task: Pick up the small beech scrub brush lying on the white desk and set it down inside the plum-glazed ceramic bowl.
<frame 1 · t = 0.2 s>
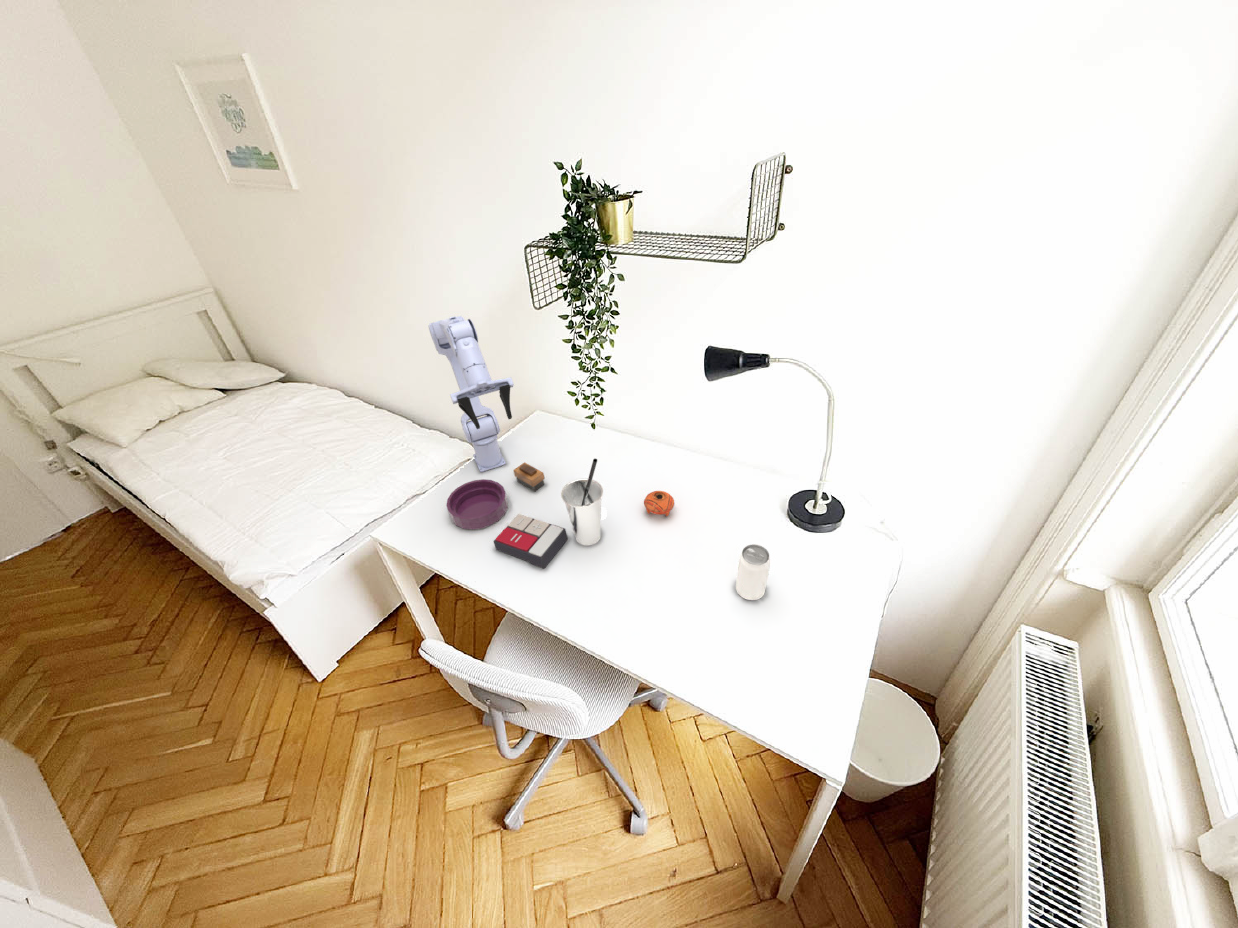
hand: (494, 422, 123), 31 cm above the table, tool tilted 45°, fingers open, 7 cm apart
scrub brush: (530, 483, 153), on the table
pot: (659, 512, 141), on the table
metal cup with straw: (590, 538, 135), on the table
calculator: (532, 544, 134), on the table
can: (750, 590, 119), on the table
bowl: (479, 510, 145), on the table
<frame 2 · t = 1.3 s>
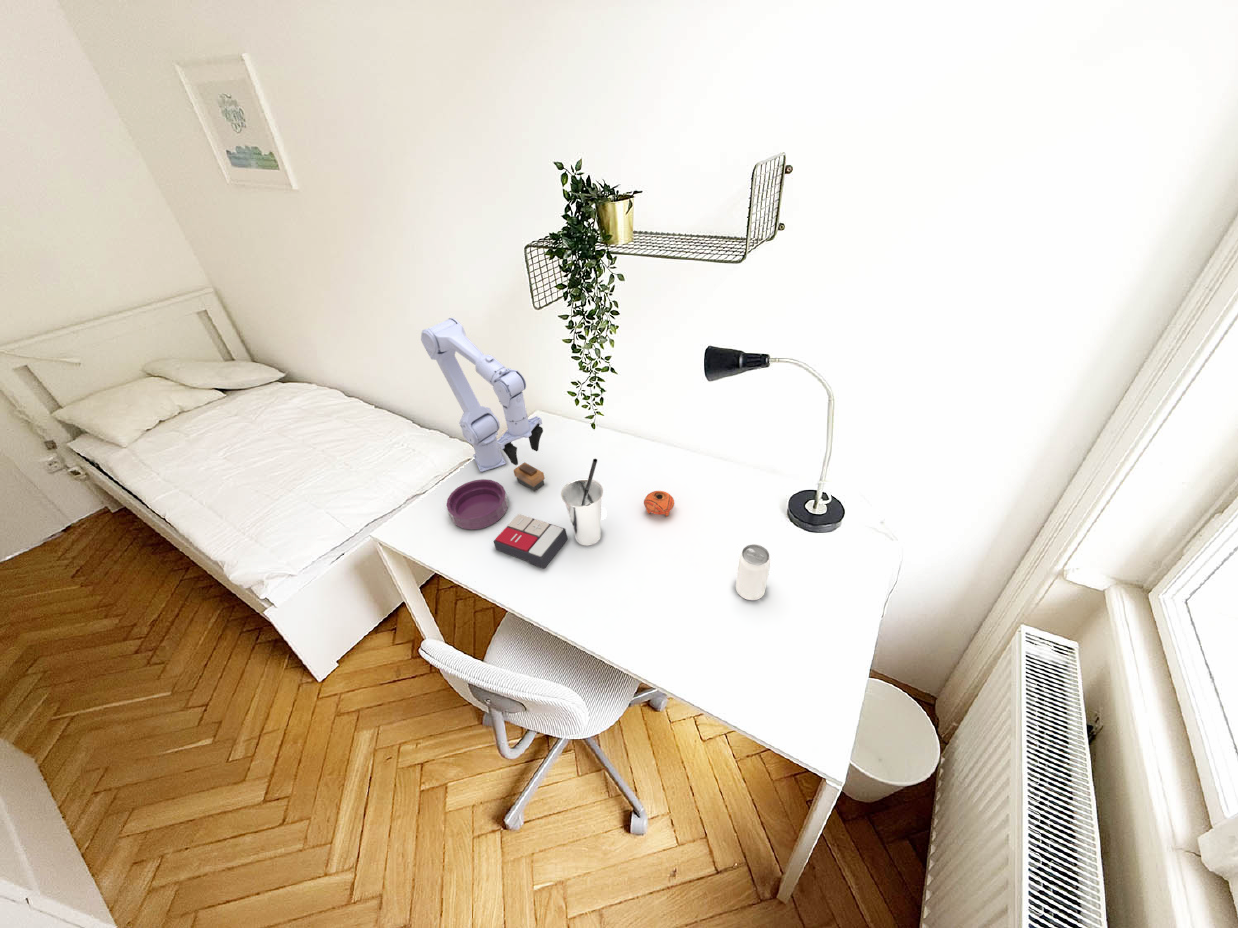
hand: (525, 456, 146), 10 cm above the table, tool pointing down, fingers open, 7 cm apart
nothing on the table moved.
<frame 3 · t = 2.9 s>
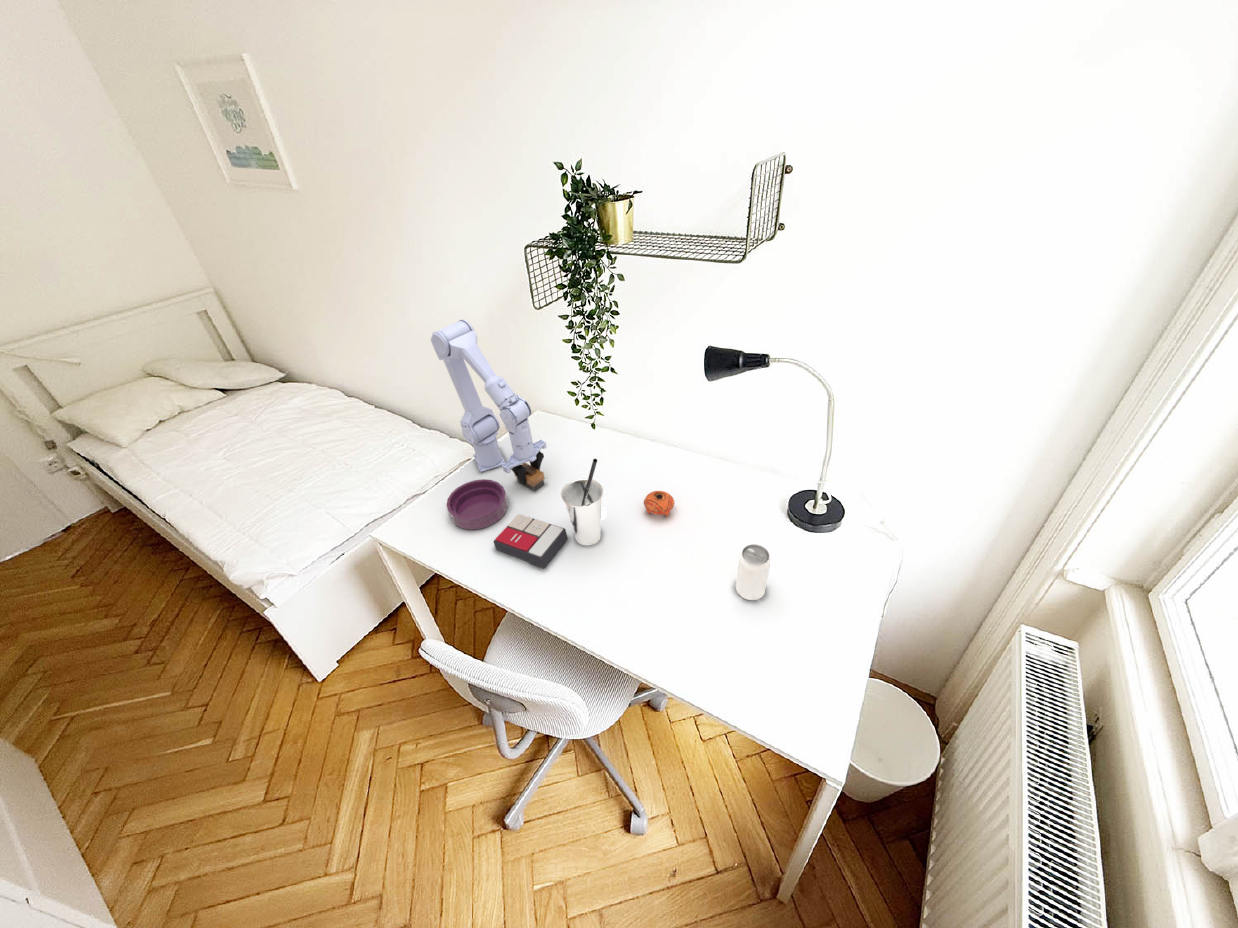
hand: (529, 478, 151), 2 cm above the table, tool pointing down, fingers closed on scrub brush, 4 cm apart
scrub brush: (530, 483, 153), on the table, touching gripper
everything else where it was.
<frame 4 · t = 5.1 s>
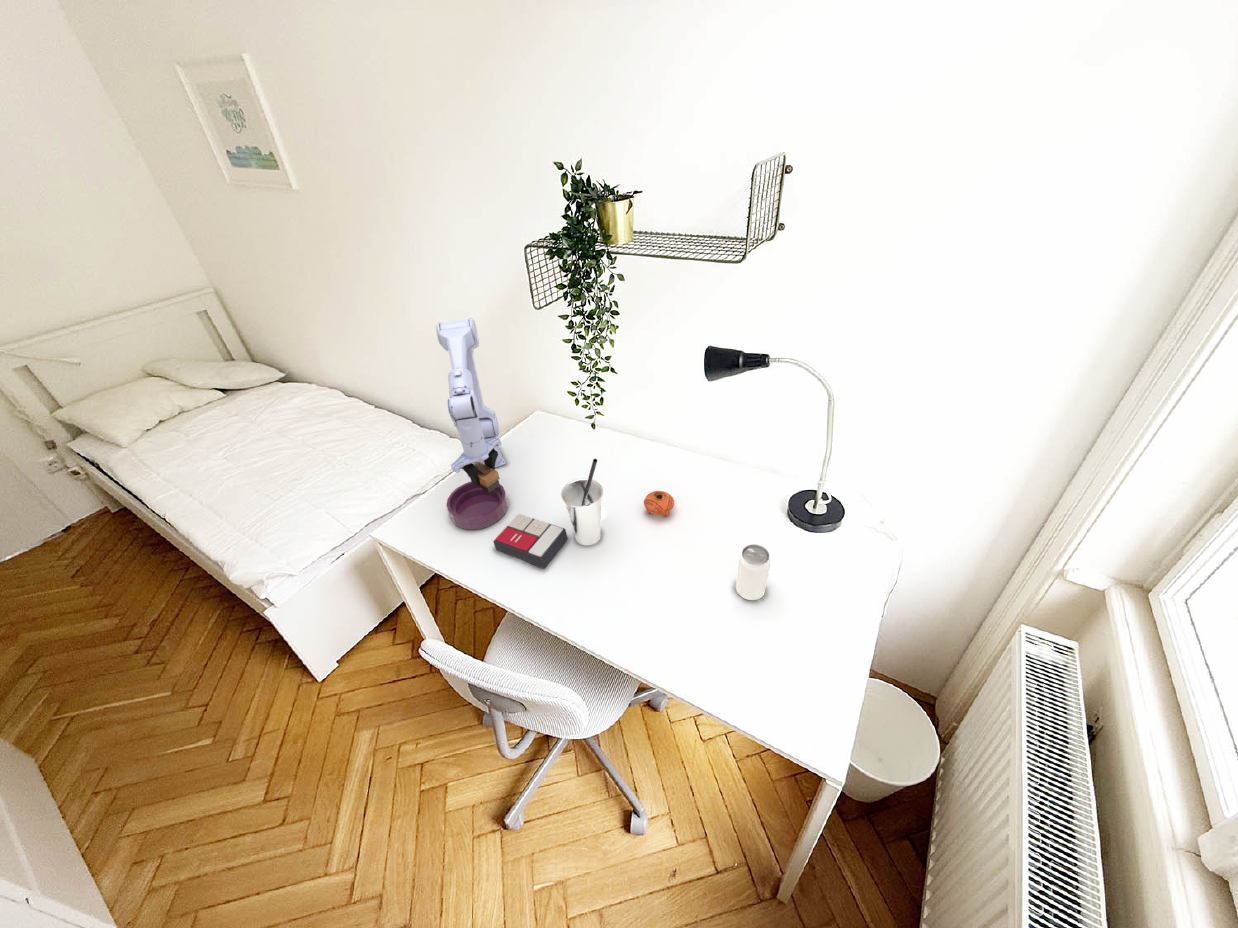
hand: (483, 478, 141), 9 cm above the table, tool pointing down, fingers closed on scrub brush, 4 cm apart
scrub brush: (485, 483, 142), point 8 cm above the table, touching gripper
everything else where it was.
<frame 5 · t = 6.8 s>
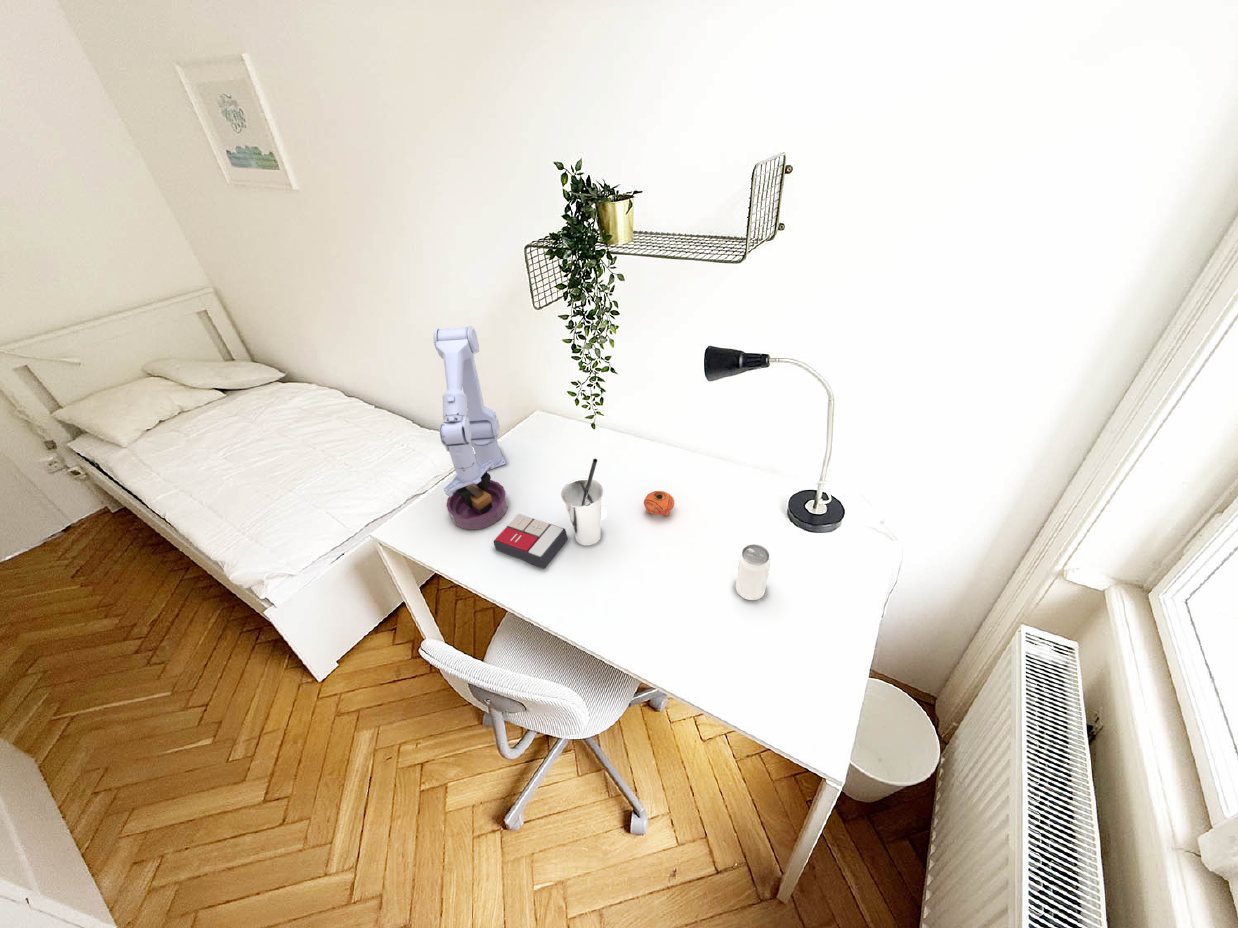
hand: (476, 500, 143), 4 cm above the table, tool pointing down, fingers closed on scrub brush, 4 cm apart
scrub brush: (478, 505, 144), point 2 cm above the table, touching gripper
everything else where it was.
when the fingers open (2 cm above the table, at t = 7.6 s): scrub brush stays where it is, resting on bowl.
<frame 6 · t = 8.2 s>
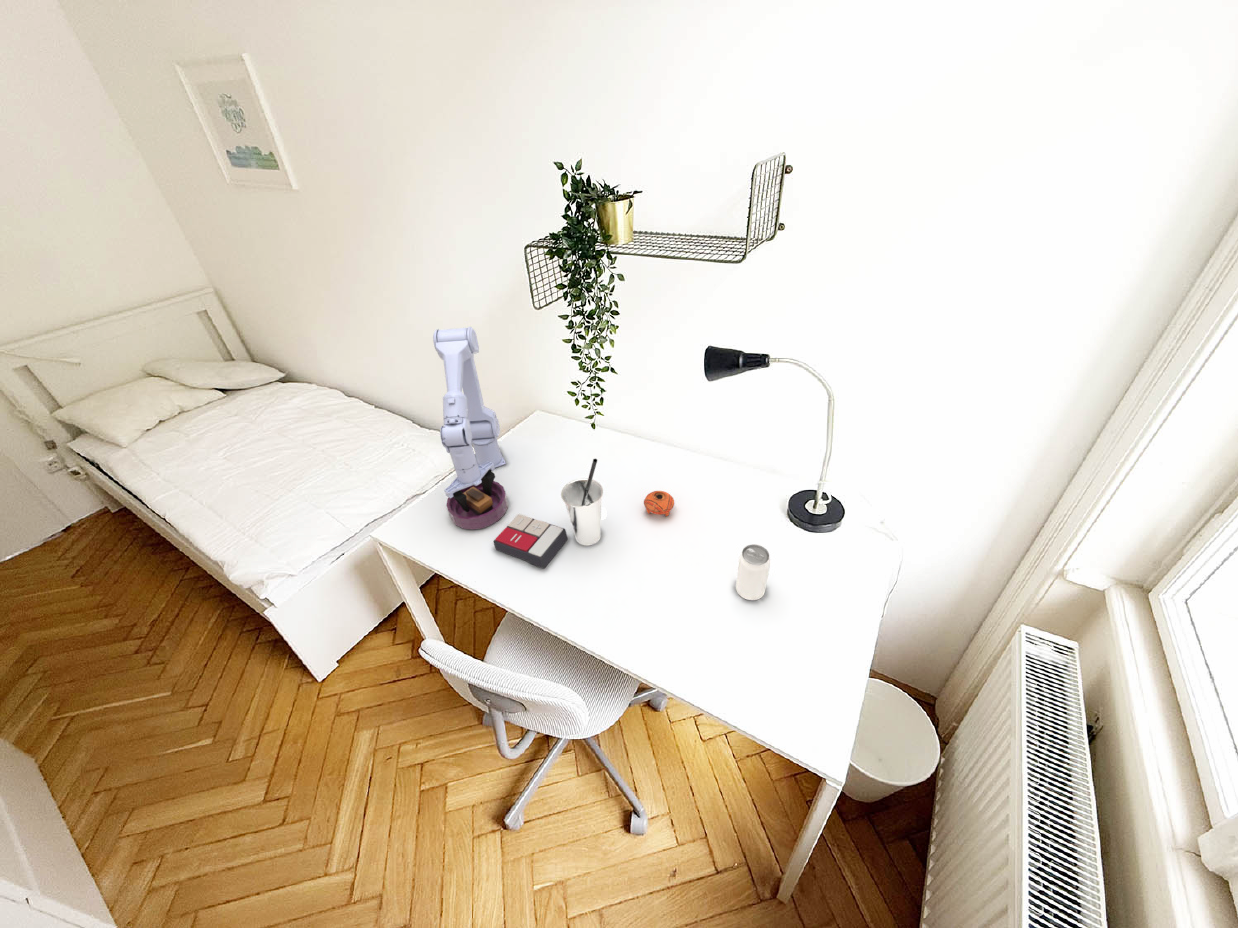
hand: (477, 502, 143), 3 cm above the table, tool pointing down, fingers open, 7 cm apart
scrub brush: (479, 508, 145), point 1 cm above the table, touching bowl
everything else where it was.
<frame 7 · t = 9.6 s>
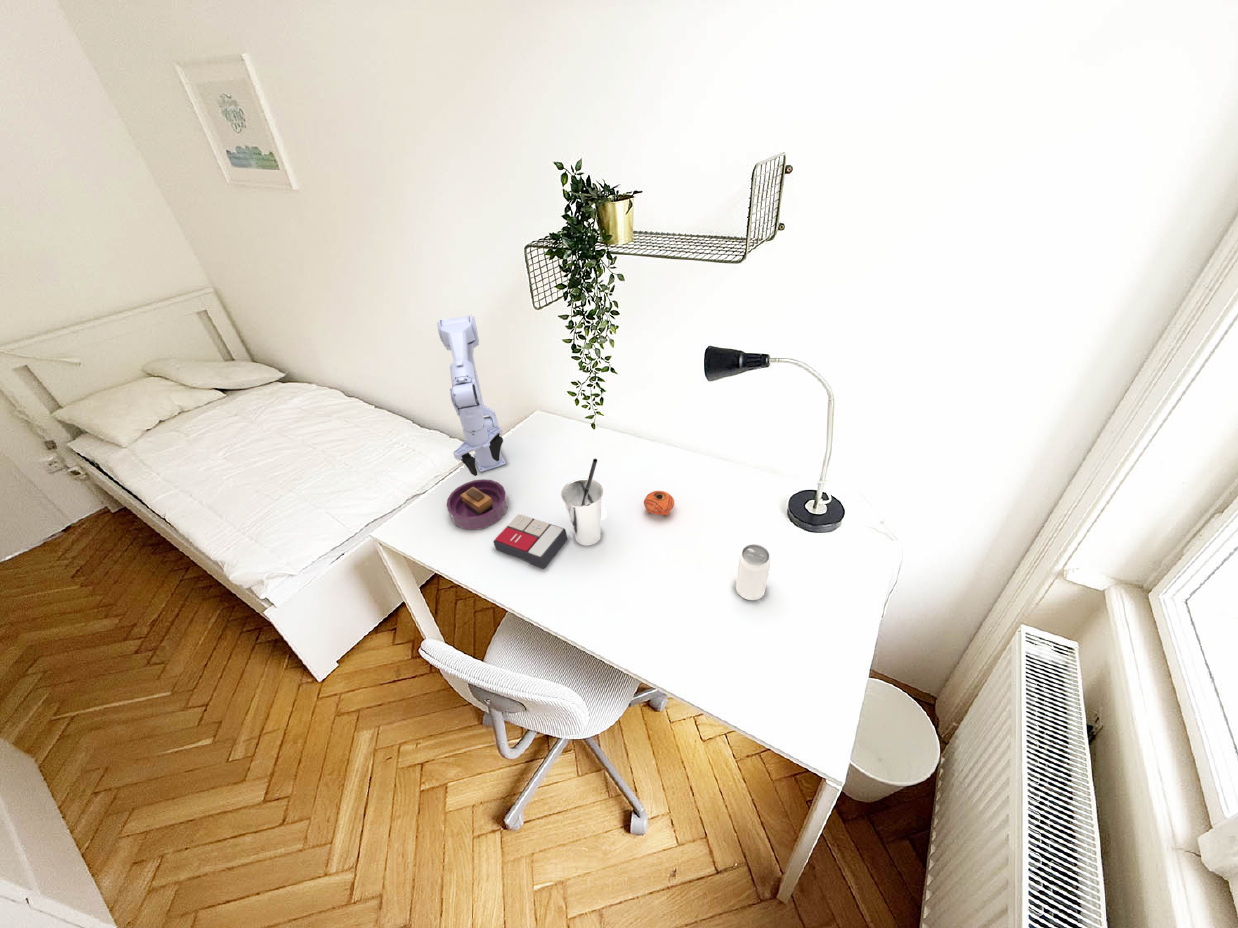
hand: (485, 466, 144), 10 cm above the table, tool pointing down, fingers open, 7 cm apart
nothing on the table moved.
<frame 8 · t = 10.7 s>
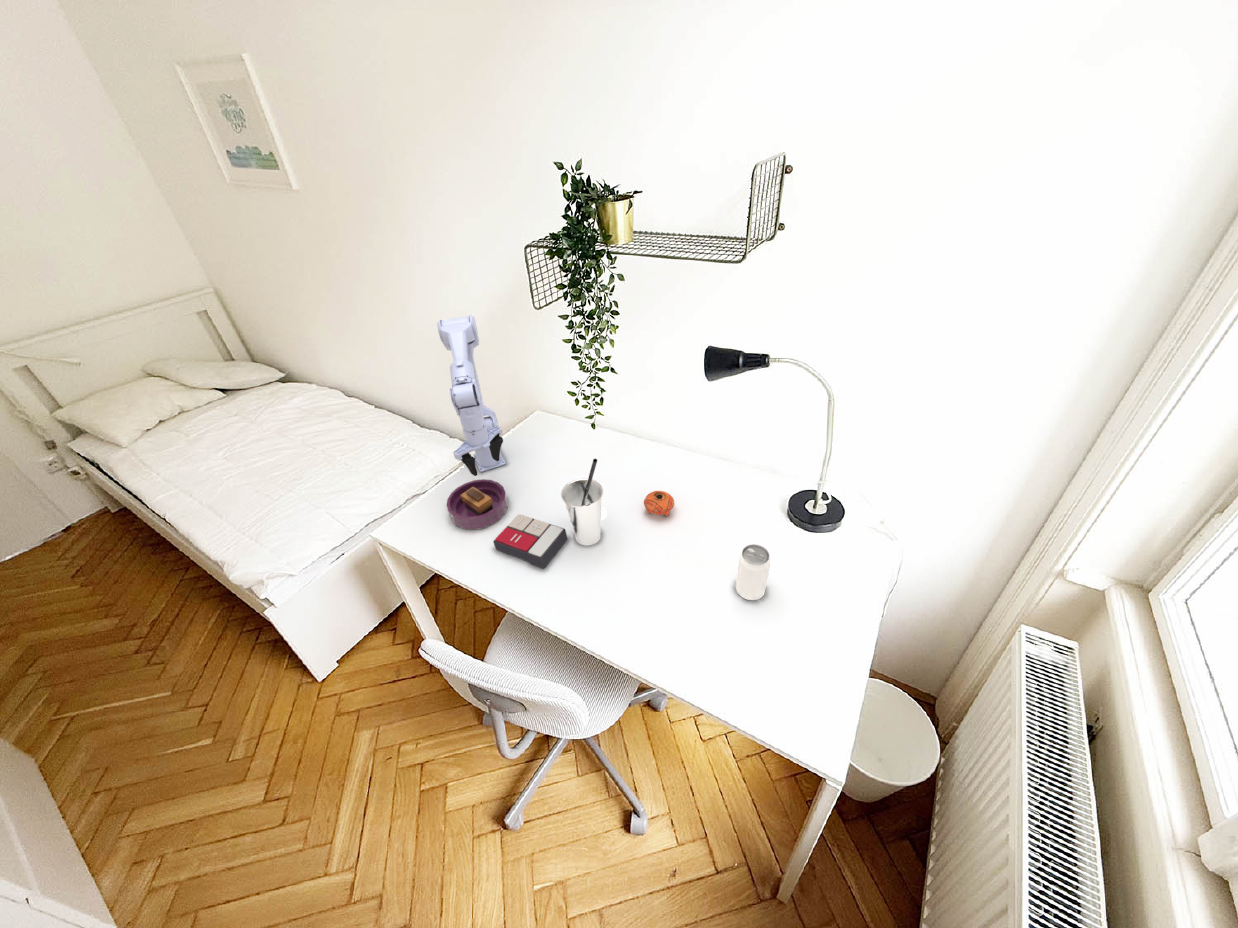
hand: (485, 466, 144), 10 cm above the table, tool pointing down, fingers open, 7 cm apart
nothing on the table moved.
at the end: scrub brush inside the target area in the bowl (0.1 cm from its centre), point 0.6 cm above the bowl's base; the gripper is holding nothing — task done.
